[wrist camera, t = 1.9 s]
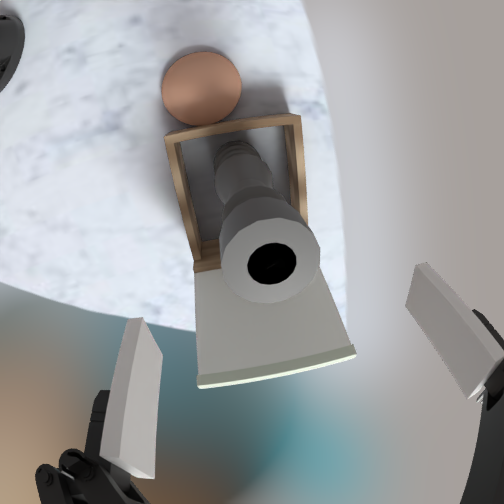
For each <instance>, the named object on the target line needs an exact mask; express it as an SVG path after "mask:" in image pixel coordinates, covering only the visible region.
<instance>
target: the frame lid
mask: <svg viewBox="0 0 504 504" xmlns="http://www.w3.org/2000/svg"><path fill="white" fill-rule="evenodd" d="M194 283H195V318H196V338H197V339H196V340H197V359H198V374H199V375H197V386H198V387H199V388H200V389H203V388H212V387H220V386H227V385H234V384H241V383H247V382H253V381H259V380H264V379H270V378H275V377H280V376H285V375H290V374H294V373H299V372H303V371H307V370H311V369H316V368H320V367H324V366H327V365H331V364H335V363H339V362H342V361H346V360H349V359H353V358H355V356H356V354H357V353H356V351H355V348H354V345H353V344H352V345H351V343H350V340H349V338H348V335H347V332H346V330H345V327H344V325H343V322H342V320H341V317H340V315H339V312H338V310H337V307H336V305H335V302H334V300H333V297H332V295H331V293H330V290H329V288H328V285H327V283H326V281H325V278H324V276H323V274H322V271H321V269H320V267H318V270H317V272H316V274H315V276H314V278H313V280H312V281H311V282H310V283H309V284H308V285H307V286H306V287H305V288H304V289H303V290H302V291H301V292H300V293H298V294H296V295H294V296H292V297H290V298H288V299H286V300H284V301H278V302H273V303H267V304H265V303H258V302H251V301H247V300H246V299H244V298H242V297H240V296H238V295H236V294H234V293H233V291H232V290H231V289H230V288H229V286H228V285H227V284H226V282H225V281H224V278H223V273H222V268H221V269H215V270H209V271H204V272H198V273H194Z"/></svg>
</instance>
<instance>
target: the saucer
mask: <svg viewBox="0 0 504 504" xmlns="http://www.w3.org/2000/svg"><path fill="white" fill-rule="evenodd" d="M241 88H242V86H241V79H240V75H239V73H238V71H237V69H236V68H235V66H234V65H233V64H232V63H231V62H230V61H229V60H228V59H226V58H225V57H223V56H221V55H219V54H216V53H212V52H195V53H191V54H188V55H186V56H184V57H182V58H180V59H179V60H177V61H176V62H175V63H174V64H173V65H172V66H171V67H170V68H169V70H168V71H167V73H166V75H165V77H164V79H163V83H162V99H163V102H164V104H165V107H166V108H167V110H168V111H169V112H170V114H171V115H172V116H174V117H175V118H176V119H178V120H179V121H181V122H183V123H186V124H190V125H196V126H203V125H209V124H213V123H216V122H218V121H220V120H222V119H223V118H225V117H226V116H227V115H228V114H230V113H231V112H232V110H233V109H234V108H235V106H236V105H237V103H238V101H239V98H240V95H241Z"/></svg>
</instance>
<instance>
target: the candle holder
mask: <svg viewBox="0 0 504 504" xmlns="http://www.w3.org/2000/svg"><path fill="white" fill-rule="evenodd" d="M214 172H215V180H214V183H215V190H216V194H217V195H218V197H219V198H220V200H221V201H222V203H223V204H224V208H223V212H222V216H221V220H222V228H221V232H220V236H219V244H220V260H221V268H222V273H223V278H224V281H225V282H226V284H227V285H228V286H229V288H230V289H231V290H232V291H233V293H234V294H236V295H238V296H240V297H242V298H244V299H246V300H247V301H251V302H258V303H265V304H267V303H273V302H278V301H284V300H286V299H288V298H290V297H292V296H294V295H296V294H298V293H300V292H301V291H302V290H303V289H304V288H305V287H306V286H307V285H308V284H309V283H310V282H311V281H312V280H313V278H314V276H315V274H316V272H317V270H318V267H319V265H320V247H319V245H318V243H317V240H316V238H315V236H314V234H313V232H312V231H311V229H310V228H309V227H308V225H307V224H306V222H305V221H304V219H303V218H302V216H301V215H300V213H299V212H298V211H297V210H296V209H295V208H293V207H292V206H291V205H290V204H288V203H287V202H286V200H285V198H284V196H283V195H281V194H280V193H279V192H277V191H276V190H275V189H274V188H273V181H272V173H271V171H270V170H269V168H268V166H267V164H266V163H265V162H264V161H262V159H261V158H260V156H259V154H258V152H257V151H256V150H255V149H254V148H253V147H252V146H250V145H249V144H248V143H245V142H241V141H233V142H229V143H227V144H225V145H223V146H222V147H221V148H220V149H219V150H218V152H217V153H216V156H215V159H214Z"/></svg>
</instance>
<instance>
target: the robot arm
mask: <svg viewBox="0 0 504 504" xmlns="http://www.w3.org/2000/svg"><path fill="white" fill-rule="evenodd" d="M24 39H25V34H24V27H23V24H22V22H21V21H20V20H19V19H18V18H16V17H14V16H9V15H0V92H1V91H2V90H3V89H4V88H5V86H6V85H7V84H8V82H9V81H10V79H11V78H12V76H13V74H14V72H15V70H16V68H17V66H18V64H19V61H20V58H21V55H22V51H23V47H24ZM405 306H406V308H407V309H408V311H409V312H410V313H411V315H412V316H413V318H414V319H415V320H416V322H417V323H418V325H419V326H420V327H421V329H422V330H423V332H424V333H425V335H426V336H427V338H428V339H429V340H430V342H431V343H432V345H433V346H434V348H435V349H436V351H437V352H438V354H439V355H440V357H441V358H442V360H443V361H444V363H445V365H446V366H447V367H448V369H449V371H450V372H451V374H452V376H453V377H454V379H455V381H456V382H457V384H458V385H459V387H460V389H461V390H462V392H463V394H464V395H465V397H466V399H468V398H470V397H471V396H473V395H474V394H476V393H477V392H478V391H479V390H480V389H481V388H482V387H483V385H484V386H485V387H486V389H485V390H484V391H483V392H482V393H481V395H480V396H479V397H478V398H477V401H476V402H477V403H478V402H479V401H480V400H481V399H482V398H483V400H482V401H481V403H482V412H481V420H480V427H479V433H478V438H477V443H476V448H475V453H474V457H473V461H472V465H471V469H470V473H469V477H468V480H467V483H466V487H465V490H464V493H463V496H462V499H461V502H460V504H504V340H503V338H502V337H501V336H500V335H499V333H498V332H497V331H496V330H494V327H493V326H492V325H491V324H489V321H488V320H487V319H486V318H485V316H484V315H483V314H481V313H480V312H478V311H477V310H475V309H474V310H471V309H470V308H469V307H468V306H467V305H466V304H465V302H464V301H463V300H462V299H461V298H460V297H459V296H458V295H457V294H456V292H455V291H454V290H453V289H452V288H451V287H450V286H449V285H448V284H447V283H446V282H445V281H444V280H443V278H441V276H440V275H439V274H438V273H437V272H436V271H435V270H434V269H433V268H432V267H431V266H430V265H429V264H428V263H427V262H426V263H422V264H418V265H415V269H414V274H413V278H412V282H411V286H410V290H409V294H408V297H407V301H406V305H405ZM162 359H163V355H162V353H161V351H160V349H159V347H158V346H157V344H156V342H155V340H154V338H153V336H152V334H151V332H150V330H149V329H148V327H147V325H146V323H145V321H144V319H143V317H141V318H133V319H128V321H127V325H126V328H125V332H124V335H123V340H122V343H121V347H120V351H119V355H118V359H117V363H116V368H115V372H114V376H113V381H112V385H111V390H100V392H99V393H98V395H97V397H96V398H95V400H94V404H93V408H92V414H91V418H90V421H91V422H90V423H89V428H88V434H87V439H86V445H85V451H84V453H83V452H81V451H80V450H78V449H68V450H66V451H64V452H63V454H61V457H60V459H59V468H55V467H53V466H51V465H49V464H42V465H41V466H39V468H38V469H37V470H36V474H35V480H36V485H37V489H38V493H39V497H40V501H41V504H150V503H149V502H148V500H147V499H146V498H145V497H144V496H143V494H142V493H141V492H140V491H139V490H138V488H137V487H136V486H135V485H134V483H133V482H132V481H131V480H130V474H131V475H133V476H135V477H137V478H149V479H155V445H156V427H157V426H156V425H157V411H158V399H159V388H160V377H161V368H162Z"/></svg>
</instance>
